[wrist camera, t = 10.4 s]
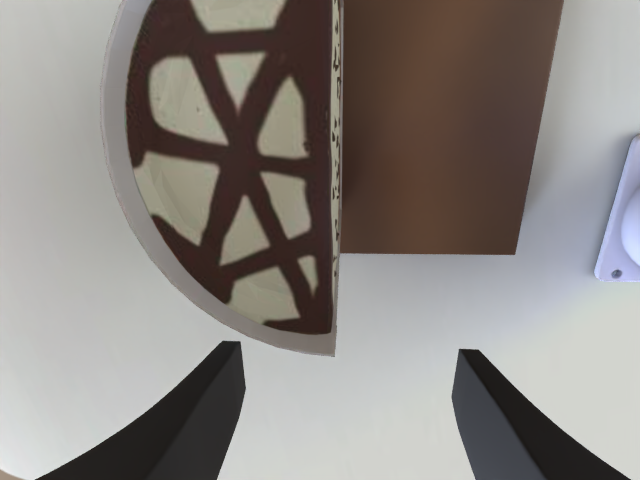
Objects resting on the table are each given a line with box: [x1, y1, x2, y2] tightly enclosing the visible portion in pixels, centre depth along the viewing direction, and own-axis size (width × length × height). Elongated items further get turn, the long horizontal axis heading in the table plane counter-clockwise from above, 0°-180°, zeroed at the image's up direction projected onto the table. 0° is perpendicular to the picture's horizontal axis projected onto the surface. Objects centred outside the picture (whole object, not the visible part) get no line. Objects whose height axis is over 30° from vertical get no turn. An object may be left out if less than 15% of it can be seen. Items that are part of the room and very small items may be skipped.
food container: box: [101, 0, 344, 357], centre depth 14 cm, size 12×6×10 cm, turn 1°
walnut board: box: [340, 0, 564, 255], centre depth 17 cm, size 16×22×2 cm
